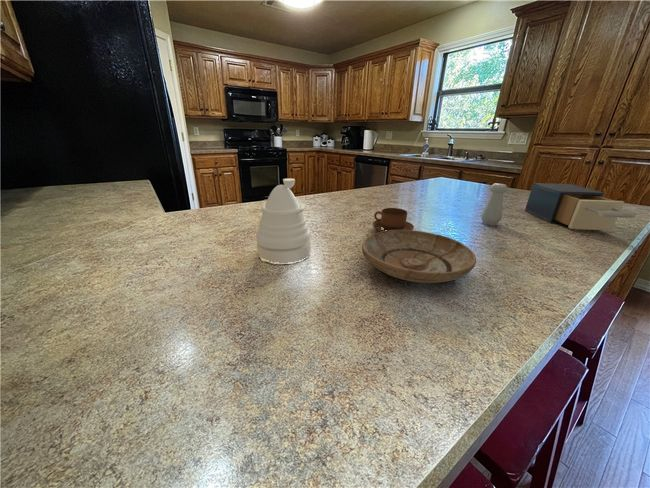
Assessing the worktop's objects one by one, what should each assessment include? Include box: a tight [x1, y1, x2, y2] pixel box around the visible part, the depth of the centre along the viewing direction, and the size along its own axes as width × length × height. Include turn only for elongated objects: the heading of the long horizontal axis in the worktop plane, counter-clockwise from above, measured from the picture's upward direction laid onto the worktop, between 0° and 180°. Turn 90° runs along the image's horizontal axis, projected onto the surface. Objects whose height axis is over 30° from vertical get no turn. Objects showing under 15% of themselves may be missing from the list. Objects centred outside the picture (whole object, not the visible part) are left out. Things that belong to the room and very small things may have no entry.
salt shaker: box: [480, 182, 508, 227], centre depth 85 cm, size 6×6×13 cm
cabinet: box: [524, 182, 605, 224], centre depth 93 cm, size 15×13×11 cm
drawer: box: [554, 194, 637, 231], centre depth 83 cm, size 20×11×9 cm, turn 174°
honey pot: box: [256, 178, 312, 263], centre depth 62 cm, size 13×13×18 cm
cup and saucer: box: [372, 207, 415, 232], centre depth 80 cm, size 12×12×6 cm
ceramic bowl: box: [361, 229, 477, 284], centre depth 59 cm, size 23×24×5 cm
